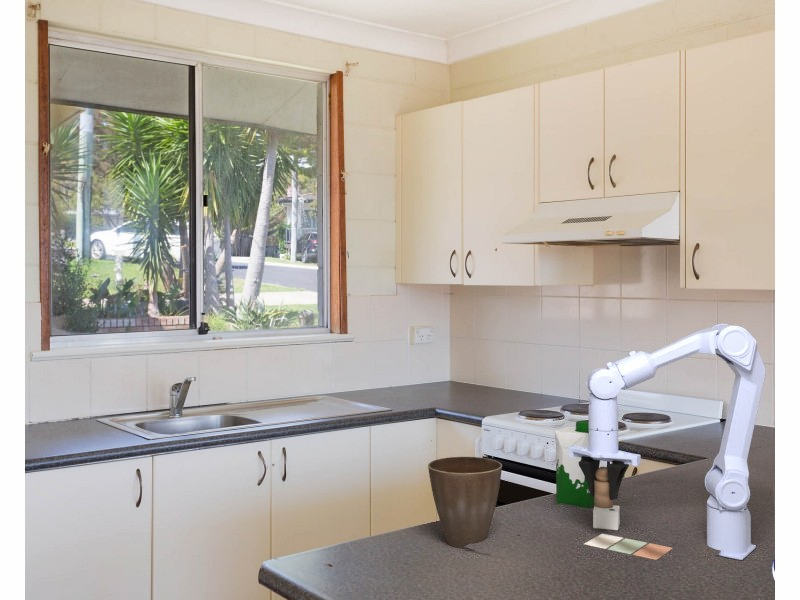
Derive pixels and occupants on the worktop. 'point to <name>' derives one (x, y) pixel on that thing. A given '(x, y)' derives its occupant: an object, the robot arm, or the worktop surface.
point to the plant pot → (465, 496)
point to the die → (606, 518)
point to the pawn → (602, 489)
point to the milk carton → (572, 466)
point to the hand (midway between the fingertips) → (603, 497)
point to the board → (629, 546)
